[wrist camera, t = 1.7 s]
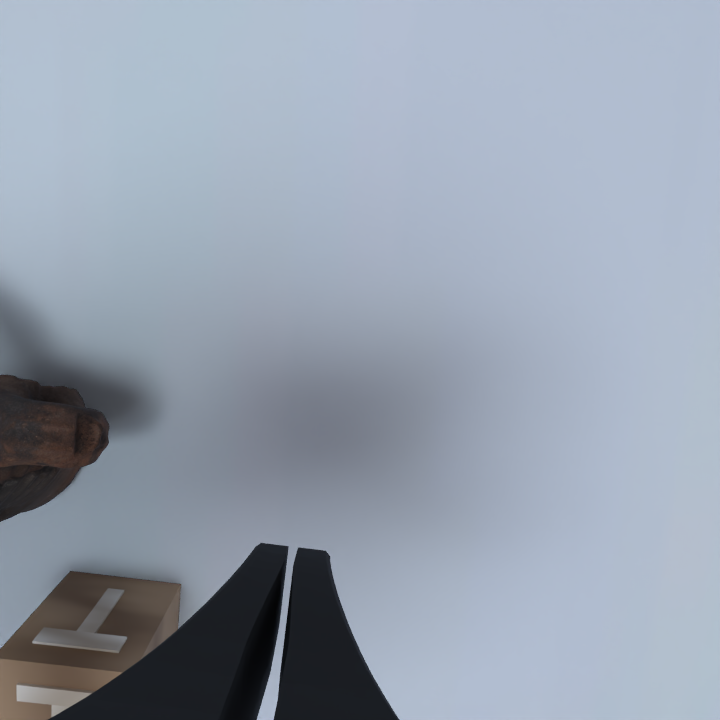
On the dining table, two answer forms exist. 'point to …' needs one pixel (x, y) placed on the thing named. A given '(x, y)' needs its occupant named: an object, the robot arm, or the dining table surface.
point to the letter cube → (82, 641)
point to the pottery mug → (43, 442)
